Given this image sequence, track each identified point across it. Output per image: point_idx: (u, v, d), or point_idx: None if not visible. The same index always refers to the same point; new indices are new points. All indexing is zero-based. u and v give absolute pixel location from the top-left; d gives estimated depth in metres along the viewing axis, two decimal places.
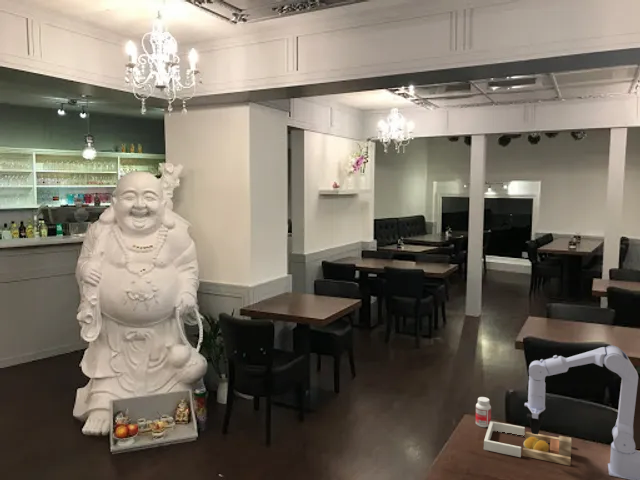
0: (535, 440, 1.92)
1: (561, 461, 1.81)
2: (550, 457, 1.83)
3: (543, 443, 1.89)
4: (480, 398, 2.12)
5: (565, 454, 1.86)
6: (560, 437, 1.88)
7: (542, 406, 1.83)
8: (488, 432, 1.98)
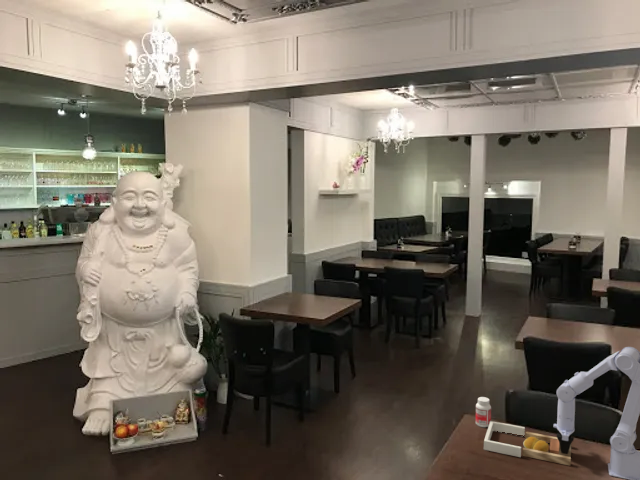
0: (535, 440, 1.92)
1: (561, 461, 1.81)
2: (550, 457, 1.83)
3: (543, 443, 1.89)
4: (480, 398, 2.12)
5: (565, 454, 1.86)
6: None
7: (572, 428, 1.84)
8: (488, 432, 1.98)
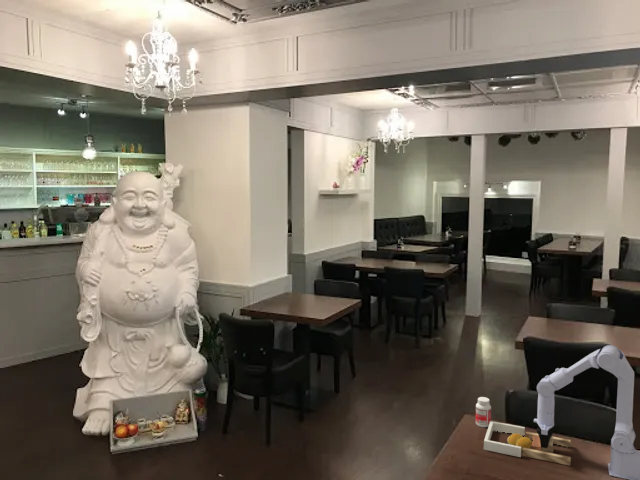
0: (518, 436, 1.94)
1: (561, 461, 1.81)
2: (550, 457, 1.83)
3: (526, 439, 1.92)
4: (480, 398, 2.12)
5: (547, 449, 1.88)
6: None
7: (551, 422, 1.87)
8: (488, 432, 1.98)
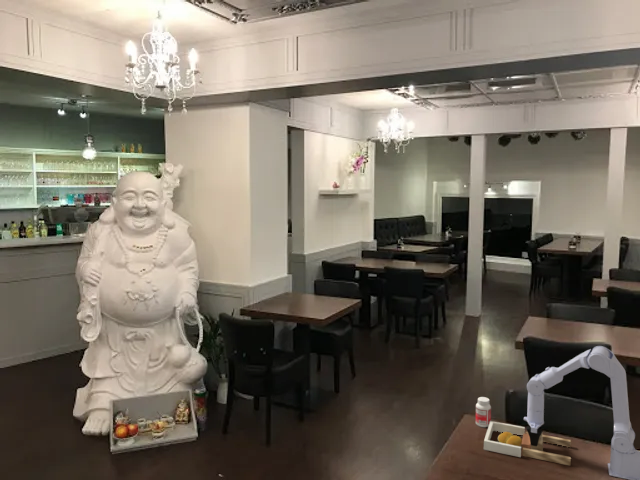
0: (509, 435, 1.96)
1: (561, 461, 1.81)
2: (550, 457, 1.83)
3: (516, 438, 1.93)
4: (480, 398, 2.12)
5: (537, 448, 1.90)
6: None
7: (541, 420, 1.88)
8: (488, 432, 1.98)
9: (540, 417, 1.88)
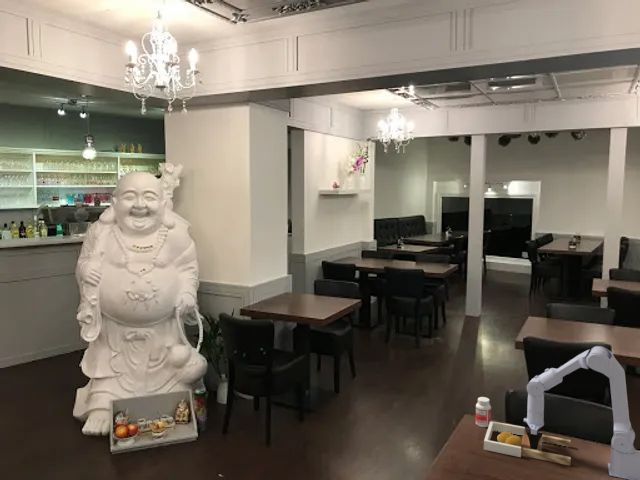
0: (508, 435, 1.96)
1: (561, 461, 1.81)
2: (550, 457, 1.83)
3: (516, 438, 1.94)
4: (480, 398, 2.12)
5: None
6: None
7: (541, 422, 1.88)
8: (488, 432, 1.98)
9: (540, 418, 1.88)
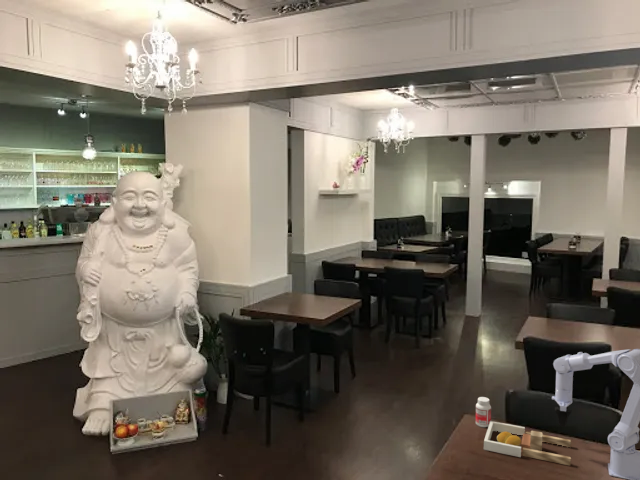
0: (508, 435, 1.96)
1: (561, 461, 1.81)
2: (550, 457, 1.83)
3: (515, 437, 1.94)
4: (480, 398, 2.12)
5: (536, 449, 1.90)
6: (532, 432, 1.93)
7: (569, 399, 1.89)
8: (488, 432, 1.98)
9: (569, 396, 1.88)
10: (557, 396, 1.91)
